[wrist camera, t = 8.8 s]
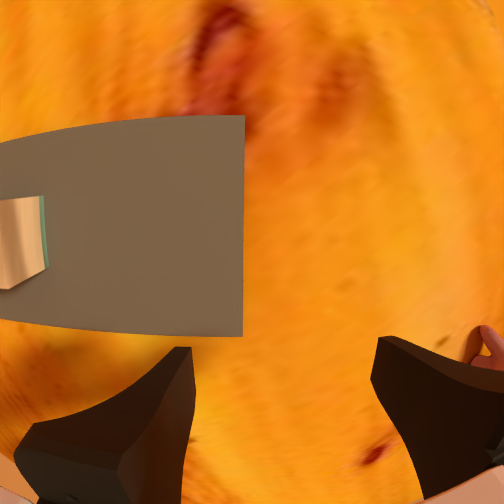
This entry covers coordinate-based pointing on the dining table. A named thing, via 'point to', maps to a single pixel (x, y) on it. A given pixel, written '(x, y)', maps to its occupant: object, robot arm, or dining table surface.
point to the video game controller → (491, 350)
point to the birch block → (22, 240)
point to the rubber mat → (134, 226)
